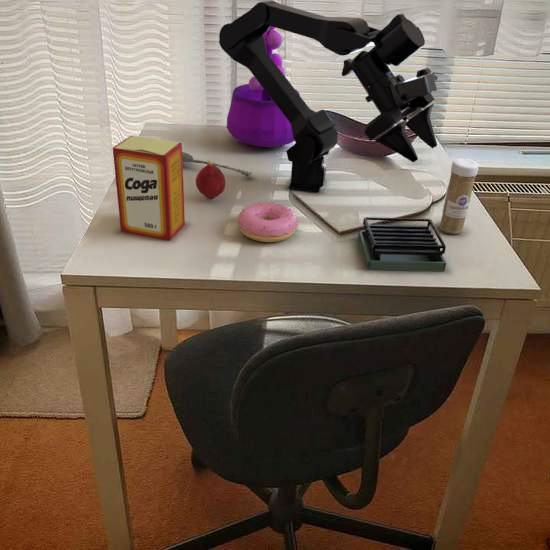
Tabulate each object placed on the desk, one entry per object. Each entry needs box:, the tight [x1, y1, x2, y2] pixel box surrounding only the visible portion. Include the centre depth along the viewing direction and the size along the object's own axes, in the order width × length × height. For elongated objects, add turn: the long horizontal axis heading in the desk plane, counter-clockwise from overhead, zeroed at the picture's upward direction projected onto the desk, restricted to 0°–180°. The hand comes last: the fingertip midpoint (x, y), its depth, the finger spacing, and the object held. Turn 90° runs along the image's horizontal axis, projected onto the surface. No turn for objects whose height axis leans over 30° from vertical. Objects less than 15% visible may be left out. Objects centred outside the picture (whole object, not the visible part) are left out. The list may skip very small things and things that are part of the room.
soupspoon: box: [182, 151, 253, 180], centre depth 134 cm, size 22×3×7 cm
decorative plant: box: [226, 26, 301, 148], centre depth 143 cm, size 19×18×30 cm
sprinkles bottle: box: [438, 158, 480, 235], centre depth 111 cm, size 5×5×14 cm
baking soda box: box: [112, 135, 186, 241], centre depth 106 cm, size 10×6×16 cm
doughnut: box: [236, 201, 299, 243], centre depth 110 cm, size 11×11×4 cm
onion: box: [195, 160, 227, 201], centre depth 119 cm, size 6×6×8 cm
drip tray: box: [357, 229, 447, 272], centre depth 106 cm, size 13×11×2 cm
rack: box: [362, 216, 447, 262], centre depth 105 cm, size 12×10×4 cm
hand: (425, 153), depth 111 cm, fingers open, 9 cm apart
